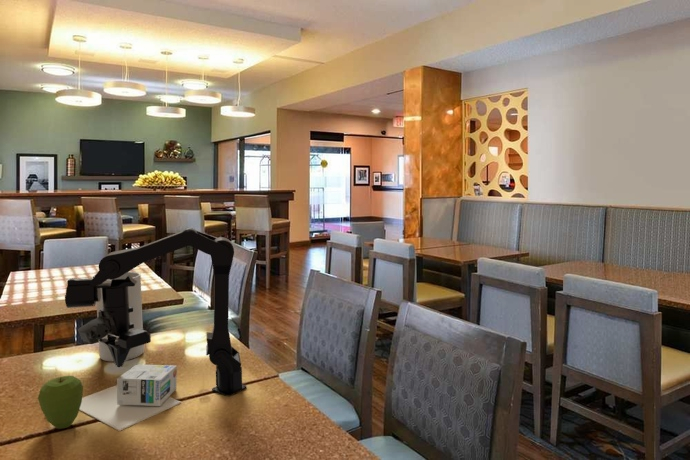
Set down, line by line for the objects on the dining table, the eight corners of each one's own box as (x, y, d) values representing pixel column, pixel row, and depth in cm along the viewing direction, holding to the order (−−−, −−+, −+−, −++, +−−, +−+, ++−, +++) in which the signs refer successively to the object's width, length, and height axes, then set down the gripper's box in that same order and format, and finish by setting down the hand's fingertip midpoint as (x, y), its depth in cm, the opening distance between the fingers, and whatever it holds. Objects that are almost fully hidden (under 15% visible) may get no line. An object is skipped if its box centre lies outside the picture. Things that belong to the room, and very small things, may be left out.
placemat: (181, 403, 118) (181, 401, 118) (119, 431, 105) (119, 429, 105) (129, 381, 131) (129, 380, 131) (68, 404, 118) (68, 403, 118)
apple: (76, 412, 113) (73, 365, 112) (92, 424, 108) (89, 375, 107) (34, 427, 107) (30, 377, 105) (49, 440, 101) (45, 388, 100)
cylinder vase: (151, 349, 155) (148, 272, 153) (129, 363, 143) (125, 280, 140) (115, 346, 157) (111, 271, 154) (90, 361, 145) (85, 279, 142)
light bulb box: (116, 405, 115) (160, 407, 115) (115, 378, 115) (160, 379, 115) (136, 388, 126) (177, 389, 126) (136, 362, 126) (177, 364, 125)
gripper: (62, 306, 115) (66, 369, 117) (104, 319, 105) (108, 388, 106) (107, 296, 124) (110, 355, 126) (150, 307, 114) (153, 371, 115)
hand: (119, 366), depth 118 cm, fingers closed
